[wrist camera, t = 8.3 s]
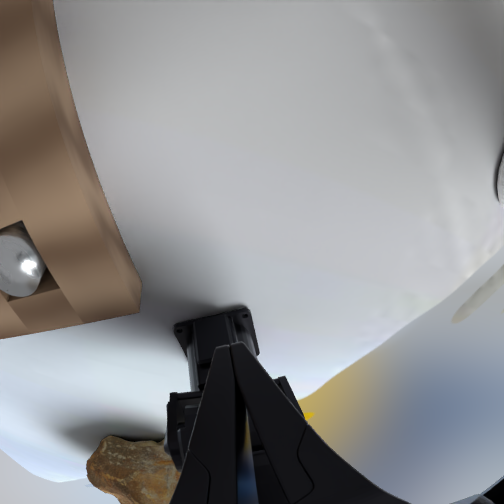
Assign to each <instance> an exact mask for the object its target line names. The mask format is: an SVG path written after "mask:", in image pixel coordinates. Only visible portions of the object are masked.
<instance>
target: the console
mask: <svg viewBox="0 0 504 504" xmlns="http://www.w3.org/2000/svg"><path fill="white" fill-rule="evenodd" d="M20 220H22V221H23V223H24V225H25V227H26V229H27V231H28V233H29V235H30V237H31V239H32V240H33V242H34V244H35V246H36V248H37V250H38V252H39V253H40V255H41V257H42V259H43V260H44V262H45V264H46V266H47V267H46V269H45V271H44V274H43V276H42V278H41V280H40V282H39V285H38V287H37V289H36V290H35V292H34V293H32V294H31V295H29V296H25V297H17V296H12V295H10V294H7V293H5V292H4V291H2V290H1V289H0V339H5V338H10V337H16V336H22V335H28V334H33V333H39V332H44V331H50V330H55V329H60V328H65V327H71V326H76V325H81V324H86V323H91V322H96V321H101V320H106V319H111V318H115V317H120V316H125V315H130V314H134V313H139V311H140V299H141V289H142V282H141V279H140V277H139V275H138V273H137V271H136V269H135V267H134V264H133V262H132V260H131V258H130V256H129V253H128V251H127V249H126V246H125V244H124V242H123V240H122V237H121V235H120V232H119V230H118V228H117V225H116V223H115V220H114V218H113V215H112V213H111V210H110V208H109V205H108V203H107V200H106V198H105V195H104V192H103V190H102V187H101V184H100V182H99V179H98V176H97V173H96V171H95V168H94V165H93V162H92V159H91V156H90V153H89V150H88V147H87V144H86V141H85V138H84V135H83V131H82V128H81V125H80V121H79V118H78V115H77V111H76V108H75V104H74V100H73V97H72V93H71V89H70V85H69V81H68V77H67V73H66V69H65V65H64V60H63V56H62V51H61V46H60V41H59V36H58V31H57V25H56V19H55V13H54V7H53V0H0V229H1V228H4V227H6V226H8V225H11V224H13V223H16V222H18V221H20Z"/></svg>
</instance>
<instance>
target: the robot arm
mask: <svg viewBox="0 0 504 504" xmlns="http://www.w3.org/2000/svg"><path fill="white" fill-rule="evenodd" d="M243 314H245V315H243ZM173 331H174V334H175V336H176V338H177V340H178V341H179V343H180V345H181V347H182V349H183V351H184V353H185V355H186V356H187V358H188V366H189V376H190V386H191V392H184V393H177V392H172V393H170V402H168V404H167V430H166V435H165V441H164V451H165V453H166V454H168V455H169V456H170V457H171V458H172V461H173V462H174V465H175V467H176V469H177V471H178V472H179V473H181V474H180V477H179V480H178V482H177V485H176V488H175V490H174V493H173V495H172V498H171V500H170V502H169V504H411V503H409V502H407V501H404V500H402V499H400V498H398V497H396V496H394V495H392V494H390V493H388V492H386V491H384V490H383V489H381V488H379V487H378V486H377V485H375V484H373V483H372V482H371V481H370V480H368V479H367V478H366V477H364V476H363V475H362V474H361V473H359V472H358V471H357V470H356V469H354V468H353V467H352V466H351V465H350V464H348V463H347V462H346V461H345V460H344V459H342V458H341V457H340V456H339V455H338V454H337V453H336V452H335V451H334V450H333V449H331V448H330V447H329V446H328V445H327V444H326V443H325V442H324V440H323V439H322V438H321V437H320V436H319V435H318V434H317V433H316V432H315V430H314V429H313V428H312V427H311V426H310V425H309V424H308V423H307V421H306V420H305V417H304V415H303V412H302V410H301V408H300V406H299V404H298V402H297V400H296V398H295V396H294V393H293V391H292V389H291V387H290V385H289V383H288V381H287V379H286V377H285V376H282V377H278V378H277V379H272V378H271V377H270V376H269V374H268V373H267V372H266V370H265V369H264V368H263V367H262V365H261V364H260V363H259V361H258V359H257V356H258V355H259V354H260V352H259V347H258V343H257V338H256V334H255V329H254V325H253V320H252V316H251V312H250V310H249V309H247V308H243V309H239V310H235V311H230V312H226V313H222V314H218V315H213V316H209V317H205V318H200V319H196V320H191V321H187V322H182V323H178V324H175V325H174V327H173ZM451 504H504V476H503V477H502V478H500V479H499V480H498V481H497V482H495V483H494V484H493V485H492V486H490V487H489V488H488V489H486V490H485V491H484V492H482V493H481V494H478V495H473V496H471V497H468V498H466V499H463V500H460V501H457V502H454V503H451Z"/></svg>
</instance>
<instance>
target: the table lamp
mask: <svg viewBox="0 0 504 504" xmlns="http://www.w3.org/2000/svg"><path fill="white" fill-rule="evenodd" d="M497 189H498V197H499V201H500V204H501V205H502V207H503V208H504V153H503V157H502V160H501V163H500V167H499V171H498V180H497Z"/></svg>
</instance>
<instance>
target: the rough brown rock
mask: <svg viewBox="0 0 504 504" xmlns="http://www.w3.org/2000/svg"><path fill="white" fill-rule="evenodd" d="M164 441H165V439H163V440H162V441H161V442H159V443H156V442H155V441H138V442H129V441H126V440H123V439H121V438H118V437H115V436H111V435H110V436H108V437H106V438H104V439H103V440H102V441H101V442H100V445H99V447H98V448H97V450H96V451H95V452H94V453H93V454H92V455H91V457H90V459H89V460H88V461H87V464H86V470H87V477H88V479H89V481H90V482H91V483H92V484H93V486H94V487H96V488H98V489H100V490H101V491H103V492H105V493H109V494H112V495H114V496H115V497H116V498H118V500H119V502H120V503H121V504H169V502H170V500H171V498H172V495H173V493H174V490H175V488H176V485H177V482H178V480H179V477H180V474H181V473H179V472H178V471H177V469H176V467H175V465H174V462H173V461H172V458H171V457H170V456H169V455H168V454H166V453H165V451H164Z"/></svg>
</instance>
